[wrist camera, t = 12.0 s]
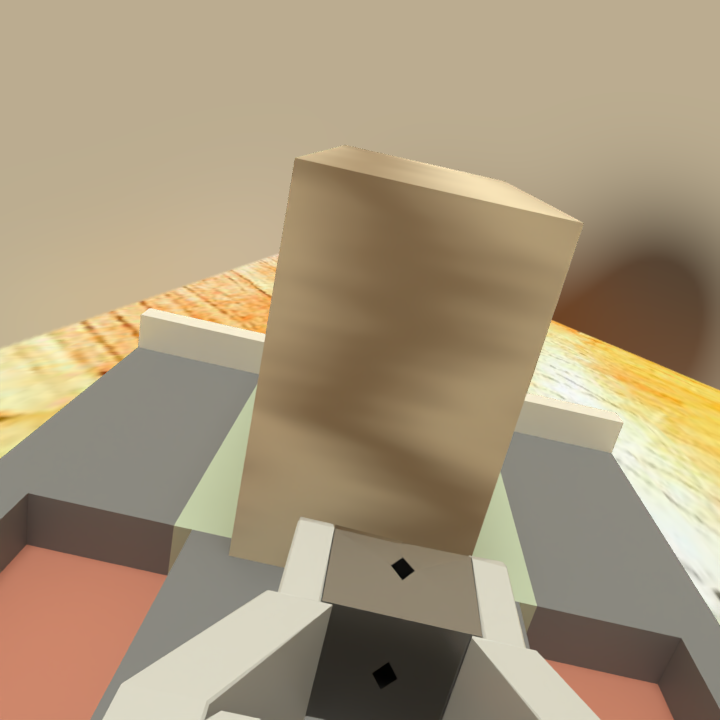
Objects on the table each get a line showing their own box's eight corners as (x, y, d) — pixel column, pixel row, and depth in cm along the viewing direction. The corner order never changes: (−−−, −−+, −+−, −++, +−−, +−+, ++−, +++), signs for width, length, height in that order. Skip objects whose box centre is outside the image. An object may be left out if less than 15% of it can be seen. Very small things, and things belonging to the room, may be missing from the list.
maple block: (436, 420, 27) (504, 180, 23) (455, 605, 16) (583, 223, 13) (297, 389, 26) (344, 144, 23) (228, 555, 16) (295, 157, 13)
